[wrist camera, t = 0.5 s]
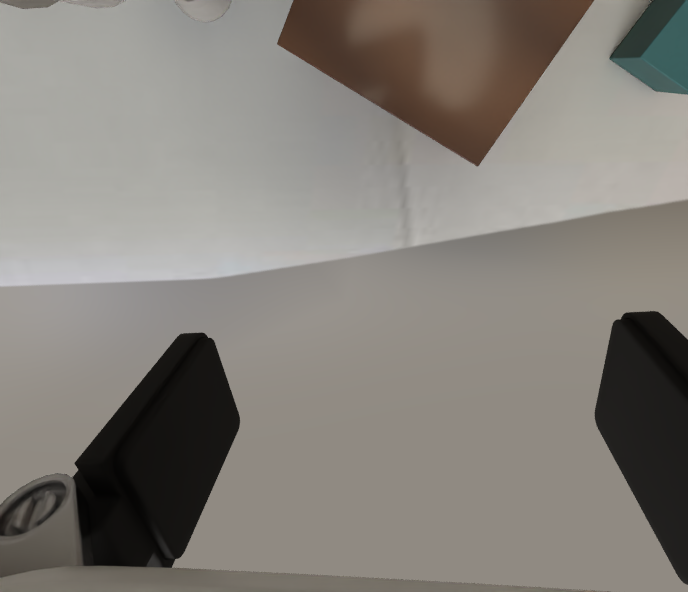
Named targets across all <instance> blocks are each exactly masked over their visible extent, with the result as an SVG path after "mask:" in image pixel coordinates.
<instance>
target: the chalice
mask: <svg viewBox="0 0 688 592" xmlns="http://www.w3.org/2000/svg"><path fill="white" fill-rule="evenodd" d="M58 1H61V2H66V3H71V4H77V5H82V6H88V7H93V8H105V7H115V6H116V5H118V4H120V3H122V2H124V1H126V0H0V2H1V3H5V4H8V5H12V6H15V7H18V8H22V9H28V8H43V7H49V6H51V5H53V4H54V3H56V2H58ZM174 1H175V3H176V4H177V5H178V6H179V8H180V9H181V10H182V11H183V12H184V13H185V14H186V15H188V16H189V17H191V18H192V19H194V20H198V21H201V22H209V21H214V20H216V19H218V18H220V17H221V16H223V14H224V13H225V12H226V11H227V9H228V8H229V6H230V3H231V1H232V0H174Z"/></svg>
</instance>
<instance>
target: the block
mask: <svg viewBox="0 0 688 592" xmlns="http://www.w3.org/2000/svg"><path fill="white" fill-rule="evenodd" d="M610 60H612V61H613V62H615V63H616V64H617V65H619V66H620V67H622V68H623V69H625V70H626V71H628V72H629V73H631V74H632V75H633V76H635V77H636V78H638V79H639V80H641V81H642V82H644V83H645V84H646V85H648V86H649V87H651V88H652V89H654V90H655V91H658V92H668V93H677V94H687V95H688V0H653V2H652V3H651V4H650V6H649V7H648V8H647V10H646V11H645V12H644V14H643V15H642V16H641V18H640V19H639V20H638V21H637V23H636V24H635V25H634V27H633V28H632V29H631V31H630V32H629V33H628V35H627V36H626V37H625V39H624V40H623V41H622V42H621V44H620V45H619V46H618V48H617V49H616V50H615V52H614V53H613V54H612V56H611V57H610Z"/></svg>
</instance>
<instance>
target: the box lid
mask: <svg viewBox="0 0 688 592" xmlns="http://www.w3.org/2000/svg"><path fill="white" fill-rule="evenodd" d="M593 1H594V0H294V1H293V3H292V6H291V8H290V11H289V14H288V16H287V19H286V22H285V24H284V27H283V29H282V32H281V35H280V37H279V40H278V43H277V44H278V45H279V46H281V47H283V48H284V49H286V50H288V51H289V52H291V53H292V54H294V55H296V56H297V57H299V58H301V59H302V60H304V61H306V62H307V63H309V64H310V65H312V66H314V67H315V68H317V69H319V70H320V71H322V72H324V73H325V74H327V75H328V76H330V77H332V78H333V79H335V80H337V81H338V82H340V83H342V84H343V85H345V86H346V87H348V88H350V89H351V90H353V91H355V92H356V93H358V94H360V95H361V96H363V97H364V98H366V99H368V100H369V101H371V102H373V103H374V104H376V105H378V106H379V107H381V108H382V109H384V110H386V111H387V112H389V113H391V114H392V115H394V116H396V117H397V118H399V119H400V120H402V121H404V122H405V123H407V124H409V125H410V126H412V127H414V128H415V129H417V130H418V131H420V132H422V133H423V134H425V135H427V136H428V137H430V138H432V139H433V140H435V141H436V142H438V143H440V144H441V145H443V146H445V147H446V148H448V149H450V150H451V151H453V152H454V153H456V154H458V155H459V156H461V157H463V158H464V159H466V160H468V161H469V162H471V163H472V164H474V165H476V166H479V164H480V163H481V161H482V160H483V158H484V157H485V156H486V154H487V153H488V151H489V150H490V148H491V147H492V146H493V144H494V143H495V141H496V140H497V138H498V137H499V136H500V134H501V133H502V131H503V130H504V128H505V127H506V126H507V124H508V123H509V121H510V120H511V118H512V117H513V115H514V114H515V113H516V111H517V110H518V108H519V107H520V105H521V104H522V103H523V101H524V100H525V98H526V97H527V95H528V94H529V93H530V91H531V90H532V88H533V87H534V85H535V84H536V83H537V81H538V80H539V78H540V77H541V75H542V74H543V73H544V71H545V70H546V68H547V67H548V65H549V64H550V63H551V61H552V60H553V58H554V57H555V55H556V54H557V53H558V51H559V50H560V48H561V47H562V45H563V44H564V43H565V41H566V40H567V38H568V37H569V35H570V34H571V33H572V31H573V30H574V28H575V27H576V25H577V24H578V22H579V21H580V20H581V18H582V17H583V15H584V14H585V12H586V11H587V10H588V8H589V7H590V5H591V4H592V2H593Z"/></svg>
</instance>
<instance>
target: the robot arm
mask: <svg viewBox="0 0 688 592" xmlns="http://www.w3.org/2000/svg"><path fill="white" fill-rule="evenodd" d="M595 420H596V424H597V427H598V429H599V431H600V433H601V435H602V437H603V438H604V440H605V442H606V444H607V446H608V448H609V450H610V451H611V453H612V455H613V457H614V459H615V461H616V462H617V464H618V466H619V468H620V470H621V472H622V474H623V475H624V477H625V479H626V481H627V483H628V485H629V486H630V488H631V490H632V492H633V494H634V496H635V498H636V500H637V501H638V503H639V505H640V507H641V509H642V511H643V513H644V514H645V516H646V518H647V520H648V522H649V524H650V525H651V527H652V529H653V531H654V533H655V534H656V537H657V538H658V540H659V542H660V544H661V546H662V548H663V550H664V551H665V553H666V555H667V557H668V559H669V561H670V562H671V564H672V566H673V568H674V570H675V571H676V573H677V575H678V577H679V578H680V579H681V580H682V581H683V583H685V584H687V585H688V340H687V339H686V338H685V337H684V336H683V335H682V334H681V333H680V332H679V331H678V330H677V329H676V328H675V327H674V326H673V325H672V324H671V323H670V322H669V321H668V320H667V319H665V317H664V316H663V315H661V314H660V313H659V312H655V311H650V312H630V313H625V314H624V315H623V316H622V318H621V320H616V321H614V323H613V326H612V330H611V335H610V340H609V345H608V350H607V355H606V359H605V364H604V369H603V374H602V379H601V384H600V389H599V394H598V399H597V403H596V408H595ZM239 425H240V417H239V413H238V410H237V407H236V404H235V402H234V398H233V395H232V392H231V390H230V387H229V384H228V381H227V378H226V375H225V372H224V369H223V366H222V363H221V360H220V357H219V354H218V351H217V348H216V345H215V342H214V340H213V339H212V338H208V337H207V335H206V334H205V333H184V334H180V335H179V336H178V337H177V338H176V339H175V340H174V342H173V343H172V344H171V345H170V347H169V348H168V349H167V350H166V352H165V353H164V354H163V356H162V357H161V358H160V359H159V360H158V362H157V363H156V364H155V365H154V366H153V367H152V369H151V370H150V371H149V372H148V374H147V375H146V376H145V377H144V379H143V380H142V381H141V382H140V384H139V385H138V386H137V387H136V388H135V390H134V391H133V392H132V393H131V395H130V396H129V397H128V398H127V399H126V401H125V402H124V403H123V404H122V406H121V407H120V408H119V409H118V410H117V412H116V413H115V414H114V415H113V417H112V418H111V419H110V420H109V421H108V423H107V424H106V425H105V426H104V428H103V429H102V430H101V432H100V433H99V434H98V435H97V436H96V437H95V439H94V440H93V441H92V442H91V444H90V445H89V446H88V447H87V449H86V450H85V451H84V452H83V453H82V455H81V456H80V457H79V458H78V459H77V461H76V462H75V465H76V466H77V468H78V469H79V470H78V471H77V473H76V474H75V475H74V476H73V478H72V477H70V476H69V475H67V474H58V473H57V474H51V475H46V476H43V477H41V478H38V479H36V480H33V481H31V482H30V483H28V484H26V485H25V486H22V487H21V488H19V489H18V490H17V491H15V492H14V493H13V494H11V495H10V496H9V497H7V498H6V500H4V501H3V503H2V504H1V505H0V592H609V591H593V590H575V589H559V588H541V587H525V586H508V585H492V584H475V583H457V582H438V581H419V580H403V579H385V578H366V577H347V576H328V575H308V574H290V573H269V572H249V571H248V572H247V571H229V570H207V569H187V568H172V565H173V563H174V561H175V559H178V558H180V557H181V556H182V554H183V553H184V551H185V549H186V547H187V545H188V542H189V540H190V538H191V535H192V534H193V531H194V529H195V527H196V524H197V522H198V520H199V518H200V515H201V513H202V511H203V509H204V506H205V504H206V502H207V500H208V497H209V495H210V493H211V491H212V488H213V486H214V484H215V481H216V479H217V477H218V475H219V473H220V470H221V468H222V466H223V463H224V461H225V459H226V457H227V454H228V452H229V450H230V448H231V445H232V443H233V441H234V438H235V436H236V434H237V432H238V429H239Z"/></svg>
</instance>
